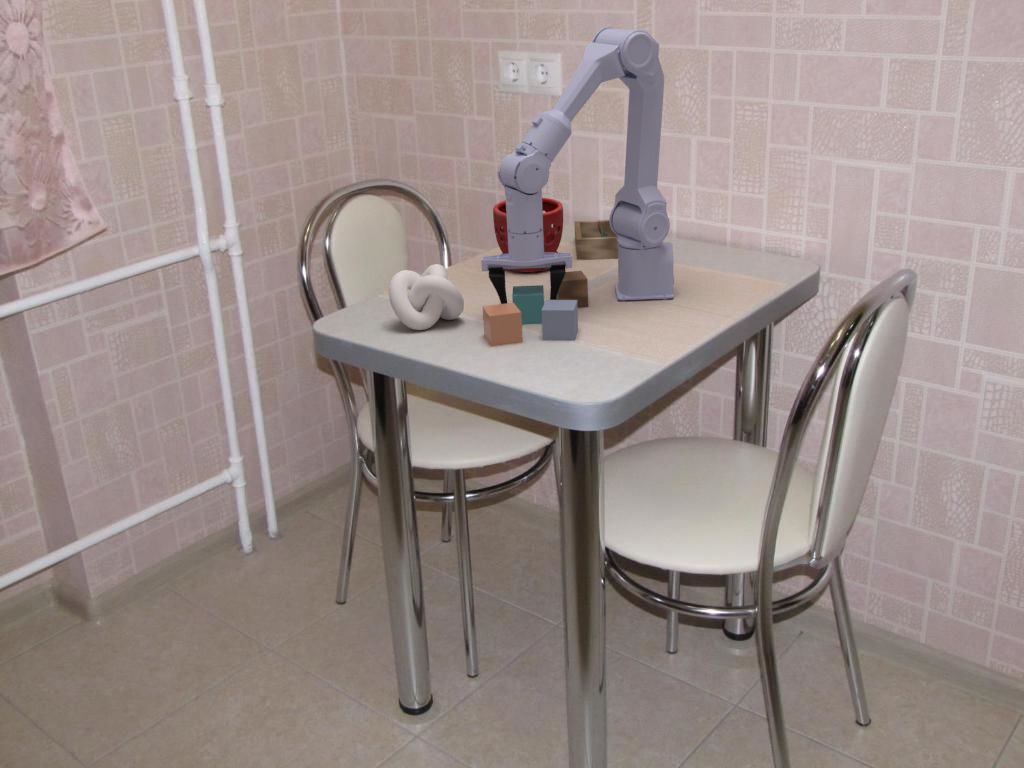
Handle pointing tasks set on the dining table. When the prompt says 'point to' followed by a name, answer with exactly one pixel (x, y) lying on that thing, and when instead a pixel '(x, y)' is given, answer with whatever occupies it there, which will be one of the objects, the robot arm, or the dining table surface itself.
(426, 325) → the white knot sculpture
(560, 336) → the slate-blue block
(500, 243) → the plant pot
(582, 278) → the walnut block
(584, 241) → the wooden compartment box
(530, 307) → the teal block
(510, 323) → the terracotta block
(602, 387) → the dining table surface
